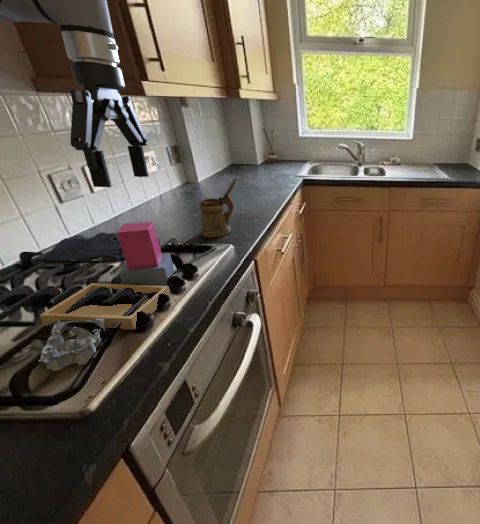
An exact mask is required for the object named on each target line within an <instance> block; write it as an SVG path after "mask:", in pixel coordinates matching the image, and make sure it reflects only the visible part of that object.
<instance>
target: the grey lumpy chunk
mask: <svg viewBox="0 0 480 524" xmlns="http://www.w3.org/2000/svg"><path fill="white" fill-rule="evenodd" d="M104 321H105V318H103V319H97V318H96V320H94V321H89V320H86V321H85V322H94V323H96V324H98V326H100V327H101V328H103V329H105V326H104ZM70 322H74V321H67V322H60V320H58V321H57V323H55V325H54V327H52V328H51V331H50V336H49V337H48V338H47V340H46V343H45V345H44V347H43V348H42V349H41V352H40V358H39V360H38V363H41V362H43V363H44V364H45V365H46V366H45V367H46V370H52V372H57V371H62V370H63V369H64V368H66V367H68V366H70V365H72V364H73V365H74V364H77V365H78V366H82V365H86V364H88V363H89V362H90V361H89V359H90V358H91V356H92V355H93V354H94V353H95V352H96V350H97V349H98V348H97V346H98V345H99V344H100V342H101V340H102V337H101V338H100V331H101V329H100V330H98V329H94V330H92V331H93V333H95V334H94V335H93V336H92V335H91V334H90V332H89V331H87V330H85V329H81V328H73V329H72V330H71V331H72V333H74V334H75V335H78V336H77V337H76V338H75V339H67V340H66V341H64V339H63V337H62V333H61V332H60V330H61V329H63V328H64V327H65V326H66V325H67V324H68V323H70ZM105 330H106V331H107V329H105ZM88 361H89V362H88ZM87 362H88V363H87Z"/></svg>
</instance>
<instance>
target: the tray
mask: <svg viewBox="0 0 480 524" xmlns="http://www.w3.org/2000/svg"><path fill="white" fill-rule="evenodd" d="M98 287H106V288H109V289H112V288H113V289H118V290H120V289H124V288H128V287H129V288H132V289H133V290H134V291H136V292H142V293H151V292H158V293H156V294H155V295H154V296H153V297H152V298H151V299H149V300H148V301H147V302H146V303H145V304H143V305H142V306H141V307H140V308H139V309H138V310H136V311H135V312H134V313H133V314H132V315H130V316H122V315H123V314H124V313H125V312H127V311H128V310H129V309H130V308H131V307H132V304H117V305H113V306H98V305H89V306H83V307H81V308H79V309H77V310H75V311H72V312H70V313H67V314H66V313H65V312H66V311H67V310H68V309H69V308H70V307H71V306H72V305H73V304H75V303H76V302H77V301H78V300H80V299H81V298H82V297H84V296H85V295H86V294H87V293H88V292H90V291H92V290H93V289H96V288H98ZM162 293H163V294H166V295H168V296H171V297H172V293H171V289H170V286H148V285H123V284H121V283H120V284H116V283H115V284H114V283H89V284H88V285H86V286H85V287H83V288H81V289H79V290H78V291H77V292H74V293H73V294H72V295H70V296H68V297H66V298H65V299H64V300H62V301H61V302H58V303H57V304H56V305H54V306H52V307H51V308H49V309H48V310H45V311H44V312H43V313H41V314H40V315H39V317H40V319H41V322H42V323H43V325H44V326H45V325H46V324H50V323H53V322H57V321H58V320H60V321H61V320H72V321H86V320H89V321H94V320H96V318H97V319H103V318H105V321H104V326H105V328H109V327H111V326H112V325H114V324H115V323H121V328H122V329H121V330H133V331H134V330H136V329H137V328H136V321H137V312H140V311H143V312H147V313H150V314H151V315H152V314H153V313H155V311H156V310H158V309H157V305H158V304H157V302H158V297H159V294H162Z"/></svg>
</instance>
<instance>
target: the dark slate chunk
mask: <svg viewBox="0 0 480 524" xmlns="http://www.w3.org/2000/svg"><path fill="white" fill-rule="evenodd" d="M100 257H103V259H102V262H103V263H107V262H118V261H121V260H125V257H124V254H123V251H122V248H121V245H120V242H119V238H118V235H117V232H110V233H108V232H99V233H97V234H95V235H94V236H91V237H88V236H87V237H85V236H71V237H67V238H66V237H65V238H63V239H62V240H60V241H59V242H58V243H57V244H56V245H55V246H54V247H52V248H51V250H50V251H49V252H47V253H46V255H45V256H44V257H43V261H46V262H56V263H64V262H63V261H71V260H79V261H81V262H80V263H90V262H89V261H91V260H94V259H98V258H100ZM102 262H101V263H102Z"/></svg>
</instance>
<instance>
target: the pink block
mask: <svg viewBox="0 0 480 524" xmlns="http://www.w3.org/2000/svg"><path fill="white" fill-rule="evenodd" d="M116 233H117V235H118V238H119V242H120V245H121V248H122V251H123V254H124V257H125V259H124V260H125V263H127V266H128V269H135V268H143V267H152V266H158V265H159V262H160V260H161V257H162V254H163V253H162V249H161V246H160V242H159V238H158V235H157V231H156V227H155V223H154V221H146V222H145V221H144V222H133V223H123V224H122V226H120V228H119V229H118V231H116Z"/></svg>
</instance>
